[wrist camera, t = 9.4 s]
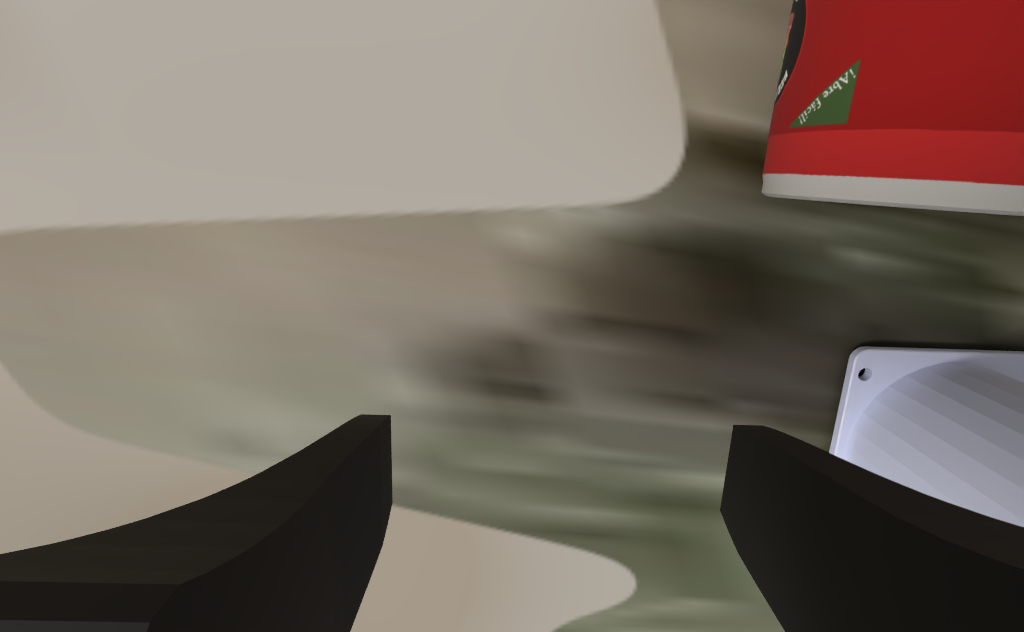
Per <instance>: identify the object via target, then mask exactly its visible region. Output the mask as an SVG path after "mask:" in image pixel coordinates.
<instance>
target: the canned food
mask: <svg viewBox="0 0 1024 632" xmlns="http://www.w3.org/2000/svg"><path fill="white" fill-rule="evenodd" d="M762 193H763V194H764V195H766V196H769V197H779V198H790V199H802V200H814V201H826V202H839V203H852V204H865V205H878V206H891V207H904V208H918V209H931V210H945V211H959V212H973V213H987V214H1001V215H1016V216H1024V0H793V5H792V10H791V16H790V21H789V27H788V32H787V38H786V43H785V49H784V54H783V60H782V65H781V71H780V76H779V82H778V87H777V92H776V98H775V103H774V109H773V114H772V120H771V125H770V131H769V136H768V145H767V152H766V158H765V163H764V169H763V187H762Z"/></svg>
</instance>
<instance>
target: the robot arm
mask: <svg viewBox="0 0 1024 632" xmlns="http://www.w3.org/2000/svg"><path fill="white" fill-rule="evenodd" d="M863 368H865V373H864V374H863V375H862V376H861V377H858V373H859V371H860V370H862V369H863ZM391 506H392V457H391V415H359V416H357V417H355V418H353V419H351V420H350V421H348V422H346V423H345V424H343V425H341V426H340V427H338V428H336V429H335V430H333V431H332V432H330V433H328V434H327V435H325V436H324V437H322V438H320V439H319V440H317V441H315V442H314V443H312V444H311V445H309V446H307V447H306V448H304V449H302V450H301V451H299V452H297V453H295V454H293V455H292V456H290V457H288V458H286V459H284V460H283V461H281V462H279V463H277V464H275V465H273V466H272V467H270V468H268V469H266V470H264V471H263V472H261V473H259V474H257V475H255V476H253V477H251V478H248V479H246V480H244V481H242V482H240V483H238V484H236V485H233V486H231V487H229V488H226V489H224V490H222V491H219V492H217V493H215V494H212V495H210V496H208V497H205V498H203V499H200V500H197V501H194V502H191V503H189V504H186V505H183V506H180V507H177V508H174V509H172V510H169V511H166V512H163V513H160V514H158V515H155V516H152V517H149V518H146V519H143V520H139V521H136V522H133V523H129V524H126V525H122V526H119V527H116V528H112V529H109V530H105V531H101V532H97V533H94V534H90V535H86V536H82V537H78V538H74V539H70V540H66V541H62V542H57V543H53V544H49V545H44V546H39V547H34V548H29V549H24V550H19V551H14V552H9V553H5V554H0V632H350V631H351V628H352V625H353V622H354V620H355V618H356V615H357V612H358V609H359V607H360V604H361V602H362V599H363V596H364V594H365V591H366V588H367V586H368V583H369V581H370V578H371V575H372V573H373V570H374V567H375V564H376V562H377V559H378V556H379V554H380V551H381V548H382V545H383V541H384V537H385V533H386V529H387V525H388V520H389V515H390V511H391ZM720 511H721V513H722V516H723V519H724V521H725V524H726V526H727V529H728V531H729V534H730V536H731V538H732V540H733V543H734V545H735V547H736V549H737V552H738V554H739V555H740V557H741V559H742V560H743V562H744V564H745V566H746V567H747V569H748V571H749V572H750V574H751V576H752V577H753V579H754V581H755V583H756V584H757V586H758V588H759V589H760V591H761V593H762V594H763V596H764V597H765V599H766V601H767V602H768V604H769V606H770V607H771V609H772V611H773V612H774V614H775V616H776V617H777V619H778V621H779V622H780V624H781V625H782V627H783V629H784V630H785V632H1024V351H994V350H963V349H932V348H901V347H870V346H863V347H859V348H857V349H855V350H854V351H853V352H852V353H851V355H850V357H849V361H848V366H847V370H846V375H845V380H844V385H843V389H842V394H841V399H840V404H839V408H838V413H837V418H836V423H835V428H834V432H833V437H832V442H831V447H830V451H829V453H828V452H826V451H824V450H822V449H820V448H817V447H815V446H813V445H811V444H808V443H806V442H804V441H802V440H800V439H797V438H795V437H793V436H790V435H788V434H785V433H783V432H780V431H778V430H775V429H772V428H769V427H765V426H755V425H733V432H732V438H731V444H730V451H729V457H728V463H727V470H726V476H725V482H724V489H723V495H722V501H721V508H720Z"/></svg>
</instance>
